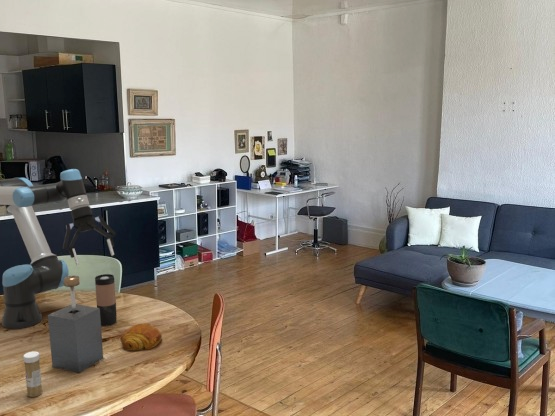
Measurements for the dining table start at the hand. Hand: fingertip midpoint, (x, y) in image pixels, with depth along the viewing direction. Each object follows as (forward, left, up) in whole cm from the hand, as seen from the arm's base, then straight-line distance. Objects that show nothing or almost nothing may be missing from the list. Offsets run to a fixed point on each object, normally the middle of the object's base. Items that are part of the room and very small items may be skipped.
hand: (95, 260), depth 217 cm
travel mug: (-4, +9, -30) cm, 32 cm away
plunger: (+11, -24, -19) cm, 33 cm away
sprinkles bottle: (+14, -46, -30) cm, 57 cm away
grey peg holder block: (+11, -24, -30) cm, 40 cm away
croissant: (+22, -2, -30) cm, 37 cm away
